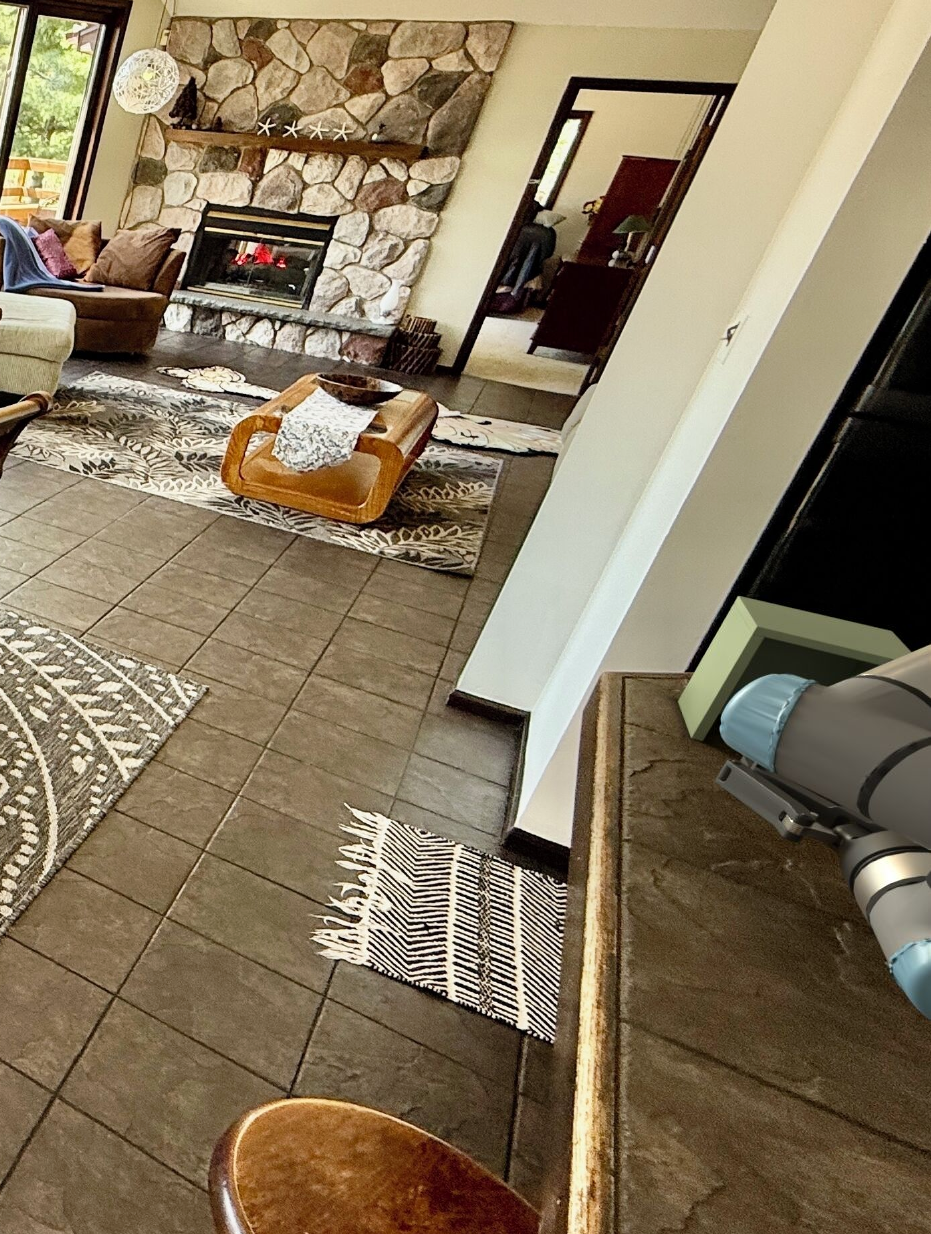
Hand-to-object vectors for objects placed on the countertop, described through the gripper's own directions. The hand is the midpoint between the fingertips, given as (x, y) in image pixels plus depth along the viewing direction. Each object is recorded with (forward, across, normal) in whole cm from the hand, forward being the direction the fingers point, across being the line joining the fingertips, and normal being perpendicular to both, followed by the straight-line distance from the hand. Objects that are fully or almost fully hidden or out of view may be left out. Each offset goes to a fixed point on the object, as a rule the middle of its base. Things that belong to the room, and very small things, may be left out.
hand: (853, 780), depth 94 cm
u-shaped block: (+27, 0, -8) cm, 28 cm away
